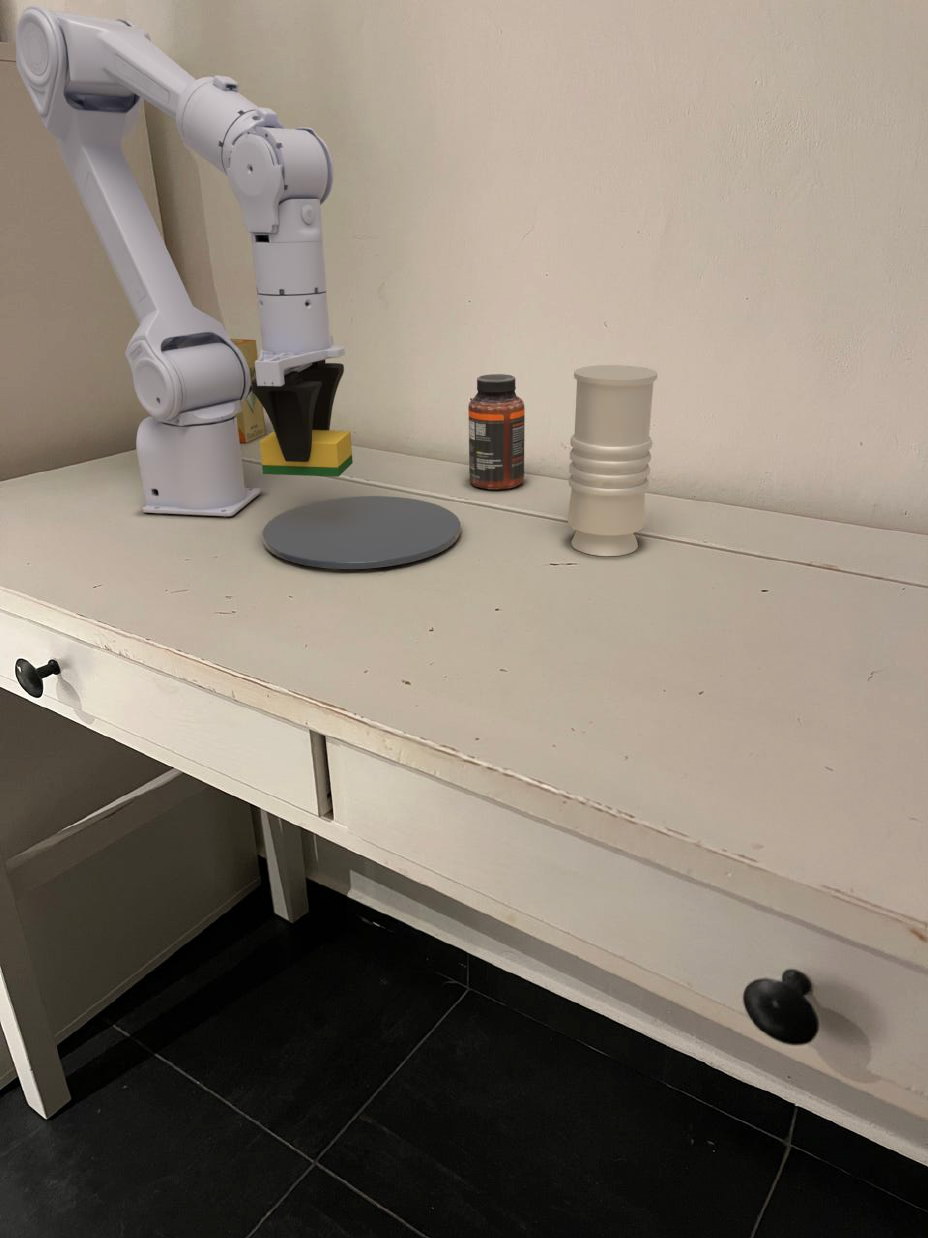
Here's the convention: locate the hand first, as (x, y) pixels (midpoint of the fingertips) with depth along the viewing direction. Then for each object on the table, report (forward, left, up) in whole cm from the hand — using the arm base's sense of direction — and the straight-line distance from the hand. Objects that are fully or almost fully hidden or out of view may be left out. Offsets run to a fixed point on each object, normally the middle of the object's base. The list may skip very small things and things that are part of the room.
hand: (306, 453), depth 79 cm
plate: (+5, 0, -8) cm, 9 cm away
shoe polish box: (-21, +34, -8) cm, 40 cm away
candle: (+27, +1, -8) cm, 28 cm away
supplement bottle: (+15, +18, -8) cm, 24 cm away
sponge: (0, 0, -1) cm, 1 cm away
